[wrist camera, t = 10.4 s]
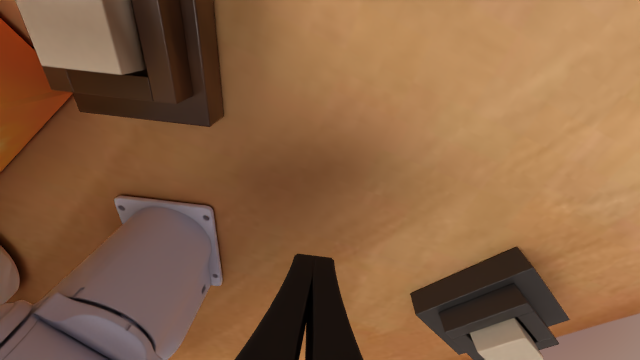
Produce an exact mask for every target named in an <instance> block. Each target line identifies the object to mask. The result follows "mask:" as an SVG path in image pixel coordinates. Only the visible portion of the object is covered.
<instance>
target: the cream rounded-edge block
mask: <svg viewBox="0 0 640 360" xmlns="http://www.w3.org/2000/svg"><path fill="white" fill-rule="evenodd" d="M470 335H471V338H472V340H473V342H474V345H475V347H476V350H477V352H478V353H479V354H480V355H481V356H482V357H483V358H484V359H485V360H543V359H544V358H543V356H542V355H541V353H540V351H539V349H538V348H537V346H536V345H535V343H534V341H533V340H532V338H531V337H530V335H529V334H528V333H527V332H526V331H525V329H524V328H523V327H522V326H521V325H520V323H519V322H518V321H517V320H516V319H515V318H512V319H509V320H506V321H503V322H500V323H498V324H495V325H492V326H489V327H486V328H483V329H480V330H477V331H474V332H471V333H470Z"/></svg>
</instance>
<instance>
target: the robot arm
mask: <svg viewBox="0 0 640 360" xmlns="http://www.w3.org/2000/svg"><path fill="white" fill-rule="evenodd" d="M114 203H115V206H116V208H117V211H118V214H119V216H120V219H121V222H122V226H121V227H119V228H118V229H117V230H116V231H115V232H114V233H113V234H112V235H111V236H110V237H108V238H107V239H106V240H105V241H104V242H103V243H102V244H101V245H100V246H99V247H98V248H96V249H95V250H94V251H93V252H92V253H91V254H90V255H89V256H88V257H87V258H85V259H84V260H83V261H82V262H81V263H80V264H79V265H78V266H77V267H76V268H75V269H73V270H72V271H71V272H70V273H69V274H68V275H67V276H66V277H65V278H64V279H62V280H61V281H60V282H59V283H58V284H57V285H56V286H55V287H54V288H53V289H52V290H50V291H49V292H48V293H47V294H46V295H45V296H44V297H43V298H42V299H41V300H39V301H38V302H36V303H35V304H33V305H32V304H30V303H28V302H27V301H25V300H18V301H16V302H14V303H6V304H0V360H168V359H169V358H170V357H171V356H172V355H173V354H174V353H175V352H176V350H177V349H178V348H179V346H180V345H181V343H182V342H183V340H184V338H185V336H186V334H187V332H188V330H189V328H190V326H191V324H192V322H193V320H194V318H195V316H196V314H197V312H198V310H199V308H200V306H201V304H202V302H203V300H204V298H205V296H206V294H207V292H208V290H209V288H210V286H211V285H214V286H220V285H221V284H222V282H223V278H222V271H221V263H220V256H219V249H218V241H217V234H216V227H215V219H214V212H213V209H212V208H211V207H209V206H206V205H197V204H189V203H180V202H172V201H164V200H155V199H147V198H138V197H130V196H117V197H116V198H115V199H114ZM206 216H208V217H206ZM305 326H306V352H305V360H363V358H362V355H361V353H360V350H359V348H358V345H357V342H356V340H355V337H354V334H353V331H352V329H351V326H350V323H349V320H348V317H347V314H346V310H345V307H344V304H343V301H342V297H341V294H340V290H339V286H338V281H337V277H336V272H335V265H334V260H333V259H332V258H328V257H320V256H312V255H304V254H297V255H295V256H294V259H293V262H292V265H291V267H290V270H289V272H288V274H287V276H286V278H285V280H284V282H283V284H282V286H281V288H280V290H279V292H278V293H277V295H276V297H275V299H274V301H273V302H272V304H271V306H270V308H269V309H268V311H267V312H266V314H265V316H264V317H263V319H262V320H261V322H260V323H259V325H258V327H257V328H256V330H255V331H254V333H253V334H252V336H251V337H250V339H249V340H248V342H247V343H246V344H245V346H244V347H243V349H242V350H241V352H240V353H239V354H238V356H237V357H236V358H235V360H299V356H300V351H301V346H302V341H303V336H304V331H305Z"/></svg>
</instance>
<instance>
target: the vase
mask: <svg viewBox="0 0 640 360" xmlns="http://www.w3.org/2000/svg"><path fill="white" fill-rule="evenodd" d="M19 283H20V277H19V272H18V269H17V267H16V265H15V263H14V261H13V260H12V258H11V257H10V255H9V254H8V253H7V252H6V251H5V249H4V248H3V247H2V246H1V245H0V304H4V303H5V302H7V301H8V300H9V299H10V298H11V297H12V296H13V295H14V294H15V293H16V292H17V290H18V288H19Z"/></svg>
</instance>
